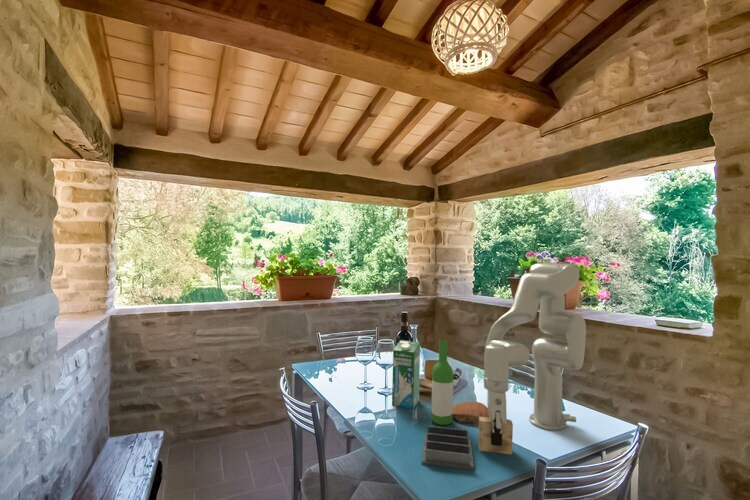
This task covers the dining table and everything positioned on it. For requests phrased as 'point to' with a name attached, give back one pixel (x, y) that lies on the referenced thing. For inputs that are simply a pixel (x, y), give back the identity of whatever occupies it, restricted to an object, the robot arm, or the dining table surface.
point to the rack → (447, 448)
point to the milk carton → (406, 374)
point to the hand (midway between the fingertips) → (495, 439)
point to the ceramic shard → (469, 412)
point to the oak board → (485, 436)
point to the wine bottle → (442, 388)
